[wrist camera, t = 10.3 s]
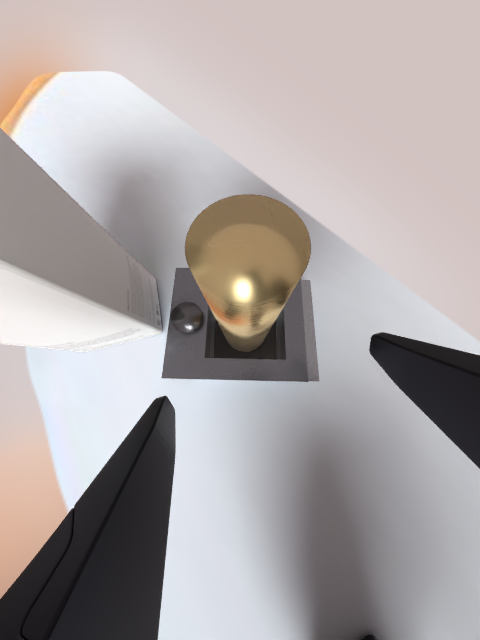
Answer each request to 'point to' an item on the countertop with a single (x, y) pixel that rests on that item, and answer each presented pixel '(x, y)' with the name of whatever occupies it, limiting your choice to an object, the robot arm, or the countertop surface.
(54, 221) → the skincare box
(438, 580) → the countertop surface
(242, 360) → the gray open box
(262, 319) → the brass pin
